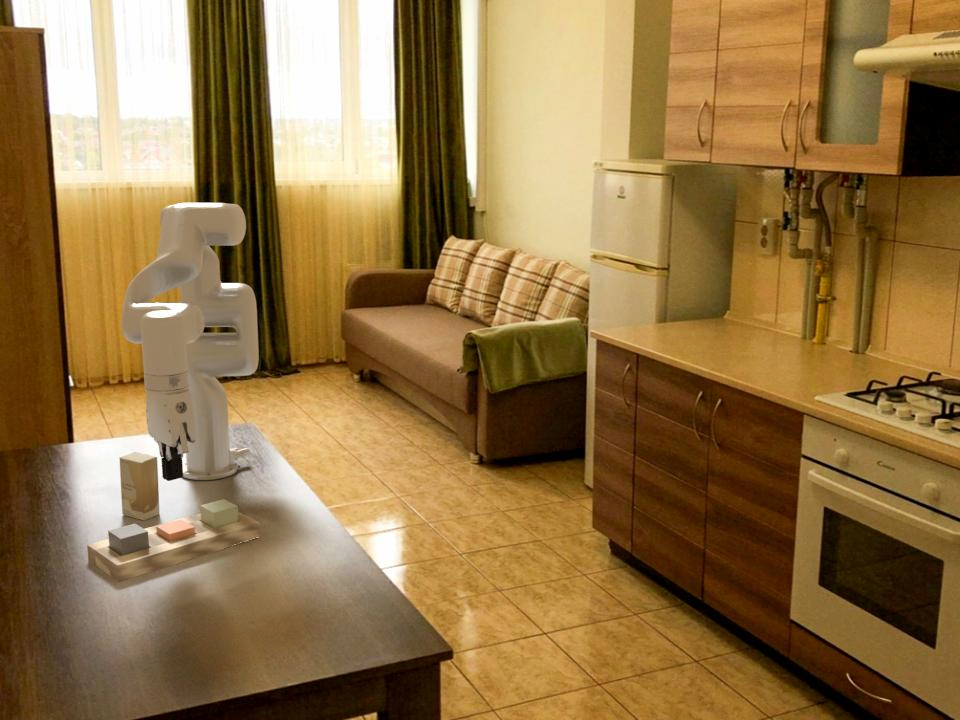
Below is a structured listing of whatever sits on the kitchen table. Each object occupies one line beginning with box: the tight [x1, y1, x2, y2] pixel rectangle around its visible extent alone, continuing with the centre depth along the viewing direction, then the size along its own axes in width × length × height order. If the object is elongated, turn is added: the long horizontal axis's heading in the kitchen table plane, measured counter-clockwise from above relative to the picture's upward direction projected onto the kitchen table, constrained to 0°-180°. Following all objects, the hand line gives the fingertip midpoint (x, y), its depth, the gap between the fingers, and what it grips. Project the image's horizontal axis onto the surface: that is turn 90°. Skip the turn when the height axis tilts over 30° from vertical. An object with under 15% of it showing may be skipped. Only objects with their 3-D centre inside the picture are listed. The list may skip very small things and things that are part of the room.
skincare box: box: [119, 451, 160, 521], centre depth 202 cm, size 6×4×12 cm
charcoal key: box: [107, 523, 149, 556], centre depth 181 cm, size 5×5×4 cm
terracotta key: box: [155, 518, 195, 542], centre depth 187 cm, size 5×5×4 cm
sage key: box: [199, 498, 239, 529], centre depth 193 cm, size 5×5×4 cm
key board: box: [86, 511, 261, 583], centre depth 187 cm, size 28×12×3 cm, turn 134°
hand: (173, 477), depth 185 cm, fingers closed
